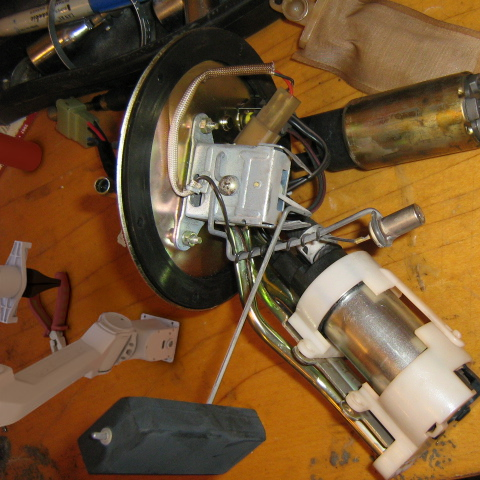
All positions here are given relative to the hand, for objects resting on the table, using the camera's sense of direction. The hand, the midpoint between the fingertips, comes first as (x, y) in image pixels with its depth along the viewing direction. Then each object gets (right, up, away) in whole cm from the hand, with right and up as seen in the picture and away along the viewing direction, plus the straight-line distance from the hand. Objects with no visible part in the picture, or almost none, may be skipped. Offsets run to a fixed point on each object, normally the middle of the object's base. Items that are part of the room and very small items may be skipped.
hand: (57, 282), depth 90 cm
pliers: (-9, -9, +14) cm, 19 cm away
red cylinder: (-19, +28, +22) cm, 40 cm away
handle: (+10, +7, +6) cm, 14 cm away
